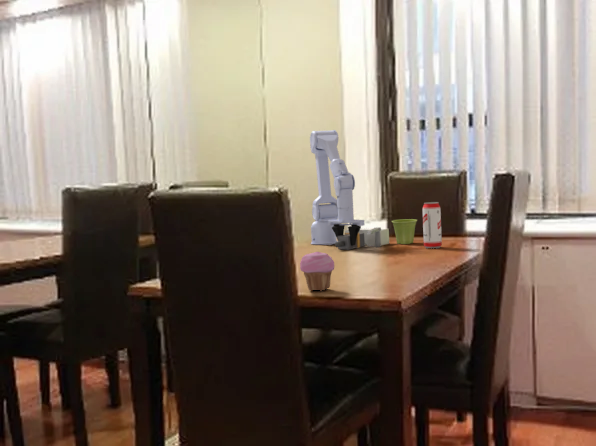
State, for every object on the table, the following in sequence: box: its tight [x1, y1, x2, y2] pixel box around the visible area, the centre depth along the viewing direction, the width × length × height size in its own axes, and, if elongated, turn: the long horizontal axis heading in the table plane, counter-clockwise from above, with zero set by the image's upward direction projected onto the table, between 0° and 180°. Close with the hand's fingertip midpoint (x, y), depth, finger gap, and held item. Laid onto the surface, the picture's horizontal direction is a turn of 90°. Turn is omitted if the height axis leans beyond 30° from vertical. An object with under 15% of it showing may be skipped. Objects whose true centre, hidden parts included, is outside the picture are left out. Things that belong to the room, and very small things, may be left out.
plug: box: [334, 232, 366, 250], centre depth 272 cm, size 6×15×5 cm, turn 143°
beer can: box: [422, 201, 443, 250], centre depth 262 cm, size 6×6×16 cm
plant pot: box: [391, 218, 418, 245], centre depth 279 cm, size 9×9×9 cm
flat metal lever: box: [367, 226, 382, 234], centre depth 268 cm, size 13×3×1 cm, turn 160°
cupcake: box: [299, 251, 335, 292], centre depth 190 cm, size 9×9×10 cm
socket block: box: [344, 227, 390, 248], centre depth 281 cm, size 16×11×6 cm
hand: (347, 245), depth 272 cm, fingers closed on plug, 5 cm apart
